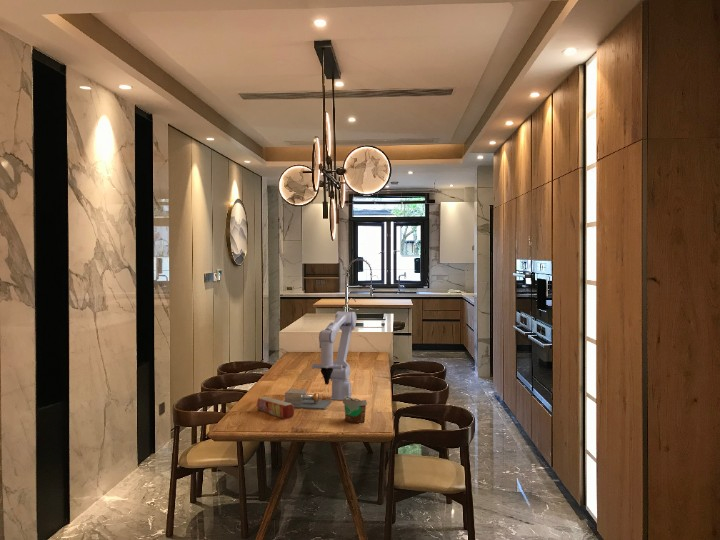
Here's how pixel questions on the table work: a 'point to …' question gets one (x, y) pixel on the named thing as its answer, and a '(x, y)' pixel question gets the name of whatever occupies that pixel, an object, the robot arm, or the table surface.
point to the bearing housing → (295, 396)
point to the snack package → (275, 407)
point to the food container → (354, 410)
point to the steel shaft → (312, 397)
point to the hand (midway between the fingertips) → (326, 384)
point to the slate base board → (314, 404)
